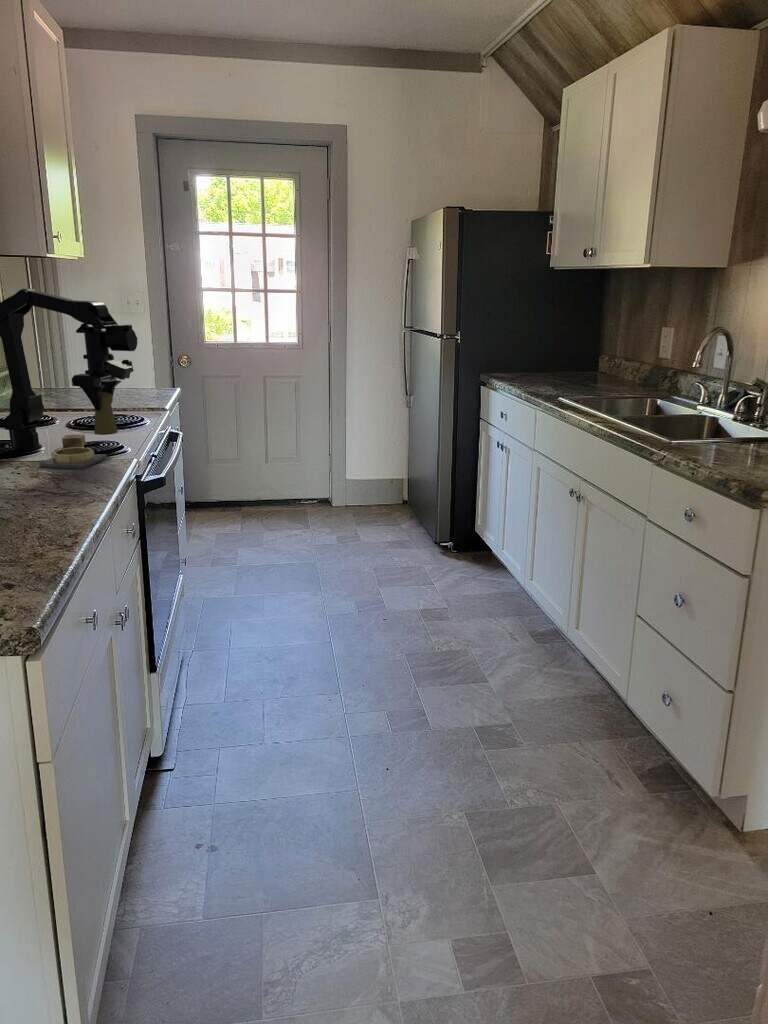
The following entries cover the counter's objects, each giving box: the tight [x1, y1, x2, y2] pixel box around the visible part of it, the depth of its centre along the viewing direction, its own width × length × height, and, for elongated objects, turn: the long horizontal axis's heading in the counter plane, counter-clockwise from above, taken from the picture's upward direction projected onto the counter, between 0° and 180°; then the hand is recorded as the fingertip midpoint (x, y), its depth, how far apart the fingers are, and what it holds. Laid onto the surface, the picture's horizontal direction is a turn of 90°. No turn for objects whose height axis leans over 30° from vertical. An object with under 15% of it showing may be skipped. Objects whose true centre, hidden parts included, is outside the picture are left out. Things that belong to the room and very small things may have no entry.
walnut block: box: [61, 433, 86, 449], centre depth 213 cm, size 5×5×4 cm
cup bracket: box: [38, 447, 108, 470], centre depth 199 cm, size 12×12×3 cm
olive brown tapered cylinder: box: [94, 392, 118, 436], centre depth 207 cm, size 6×6×11 cm
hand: (103, 408), depth 207 cm, fingers closed on olive brown tapered cylinder, 5 cm apart
